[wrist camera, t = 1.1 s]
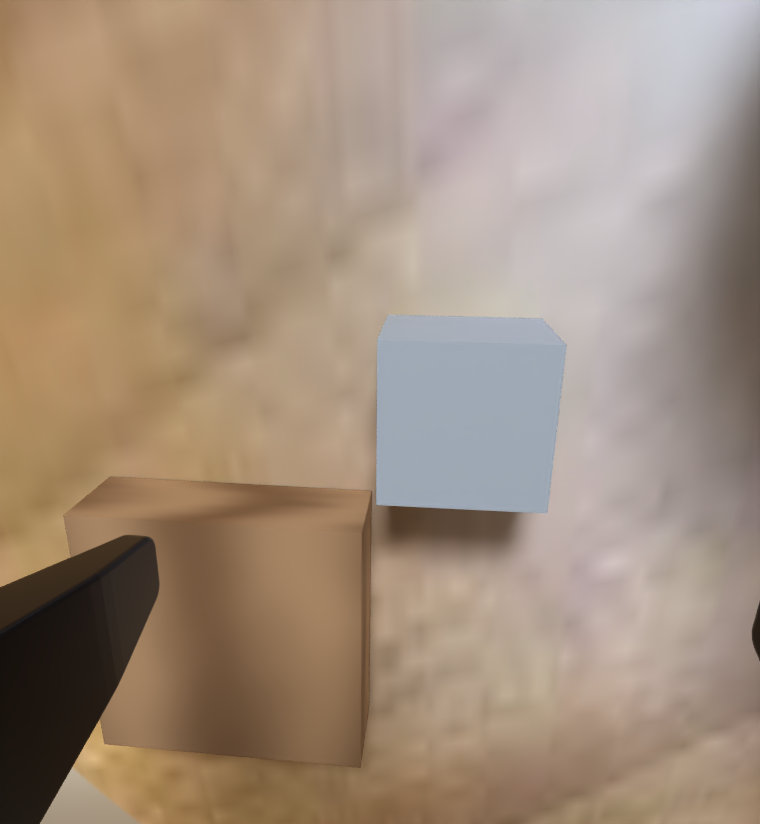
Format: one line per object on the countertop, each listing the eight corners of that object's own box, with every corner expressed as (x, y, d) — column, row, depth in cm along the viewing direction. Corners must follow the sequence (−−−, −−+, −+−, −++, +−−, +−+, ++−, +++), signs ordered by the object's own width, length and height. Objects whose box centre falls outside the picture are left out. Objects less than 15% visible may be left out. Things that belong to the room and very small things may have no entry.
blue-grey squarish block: (541, 317, 19) (566, 344, 16) (527, 458, 21) (547, 513, 17) (388, 314, 20) (377, 339, 16) (386, 452, 22) (376, 505, 18)
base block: (371, 490, 22) (361, 533, 19) (369, 704, 25) (360, 767, 22) (109, 476, 23) (63, 515, 20) (140, 685, 26) (104, 744, 23)
